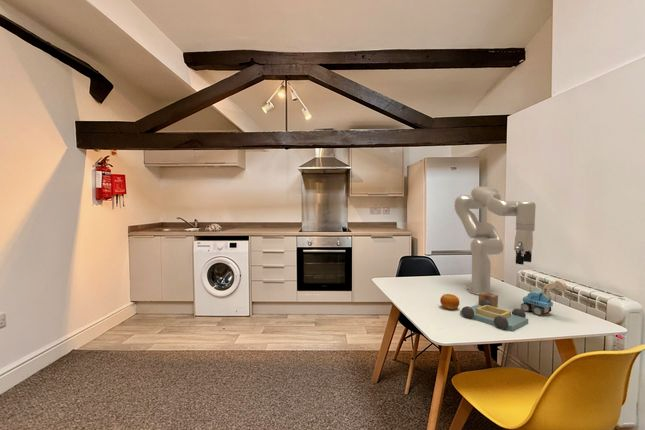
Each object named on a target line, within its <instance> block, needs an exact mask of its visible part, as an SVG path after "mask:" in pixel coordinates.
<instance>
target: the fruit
mask: <svg viewBox="0 0 645 430" xmlns="http://www.w3.org/2000/svg"><path fill="white" fill-rule="evenodd" d="M440 304H441V306H442V307H443V308H445V309H447V310H456V309H458V308H459V306H460V299H459V297H458V296H457V295H455V294H451V293H443V294H442V295H441V297H440Z"/></svg>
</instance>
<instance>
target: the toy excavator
mask: <svg viewBox="0 0 645 430" xmlns="http://www.w3.org/2000/svg"><path fill="white" fill-rule="evenodd" d="M567 287H568V286H567V283H566V282H565V281H564V280H561V279H560V280H559V279H557V280H555V281H554V282H550V283H547V284H545V285H544V286H543V289H542V290H533V291H530V292H528V294H527V295H525V296H524V297H523V298H522V303H521V304H520V306H521V307H520V309H522V310H523V311H524V312H531V311H532V313H534V315H536V316H538V317H539V316H542V315H544V314H549V313H551V312H552V307H553V306H554V302H553V301H552V297H551V293H550V290H552V289H556V288H557V289H558V292H559V293H563V292H565V291H567Z"/></svg>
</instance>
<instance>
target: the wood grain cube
mask: <svg viewBox="0 0 645 430" xmlns="http://www.w3.org/2000/svg"><path fill="white" fill-rule="evenodd" d="M484 300H488V301H490V302H491V303H492V307H496V308H499V306H498V304H499V295H498V294H494V293H493V294H490V293H486V292H482V293H479V295H478V303H477V305H480V303H481V302H482V301H484Z"/></svg>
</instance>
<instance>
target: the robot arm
mask: <svg viewBox="0 0 645 430" xmlns="http://www.w3.org/2000/svg"><path fill="white" fill-rule="evenodd" d="M501 199H502V198H501V194H499V190H498V189H497V188H496V187H494V186H476V187H474V188H473V189H472V190H471V192H470V194H461V195H459V196H457V197H456V199H455V200H454V211H455V213H456V214H457V216H458V218H459V219H460V221H461V224H462V226H463V227H464V229H465V232H466V234H467V236H468V237H469V238H470V239H472V241H471V242H470V252H471V283H470V282H465V287H468V288H469V289H468V292H469V293H470V294H473V295H477V296H479V293H482V292H486V293H490V294H494V292H493V291H492V290H491V271H492V268H491V267H492V266H491V265H492V263H491V260H490V258H489V256H491V255H493V256H494V255H500V254H502V253H503V251H504V243H503V241H502V239H501V237H500V235H499V233H498V231H497V229H496V227H495V226H494V225H493V224H491V223H489V222H480V221H479V219H478V218H477V216H476V214H475V213H474V212H472V211H471V210H482V209H484V208H487V210H488V211H490V213H493V214H494V215H497V216H501V217H515V231H516V232H515V237H514V246H513V247H514V248H513V249H514V251H515V264H516V265H524V262H526V263H532V250H533V243H534V237H533V236H534V233H533V232H535V229H536V227H535V226H536V225H535V224H536V209H537V208H536V206H537V205H536V203H535V202H533V201H517V200H501Z"/></svg>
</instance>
